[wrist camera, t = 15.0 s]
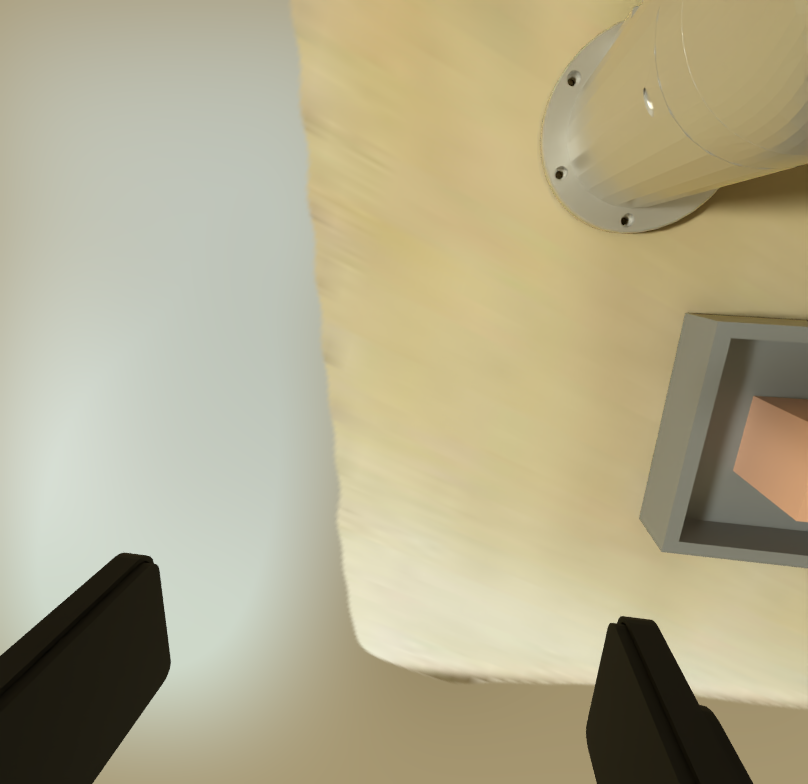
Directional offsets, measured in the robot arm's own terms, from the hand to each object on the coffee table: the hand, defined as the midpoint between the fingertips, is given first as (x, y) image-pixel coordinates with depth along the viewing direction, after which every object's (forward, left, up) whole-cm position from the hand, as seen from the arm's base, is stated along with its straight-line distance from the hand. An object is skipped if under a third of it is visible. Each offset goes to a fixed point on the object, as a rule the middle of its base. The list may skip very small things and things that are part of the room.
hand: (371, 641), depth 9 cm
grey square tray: (+4, +26, -28) cm, 39 cm away
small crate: (+4, +26, -27) cm, 38 cm away
